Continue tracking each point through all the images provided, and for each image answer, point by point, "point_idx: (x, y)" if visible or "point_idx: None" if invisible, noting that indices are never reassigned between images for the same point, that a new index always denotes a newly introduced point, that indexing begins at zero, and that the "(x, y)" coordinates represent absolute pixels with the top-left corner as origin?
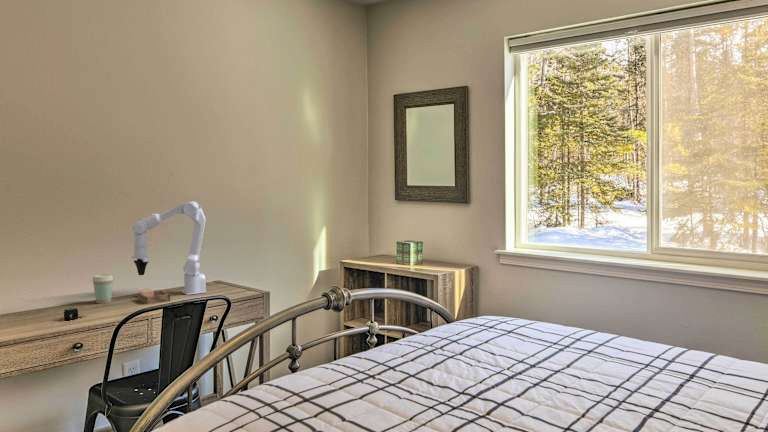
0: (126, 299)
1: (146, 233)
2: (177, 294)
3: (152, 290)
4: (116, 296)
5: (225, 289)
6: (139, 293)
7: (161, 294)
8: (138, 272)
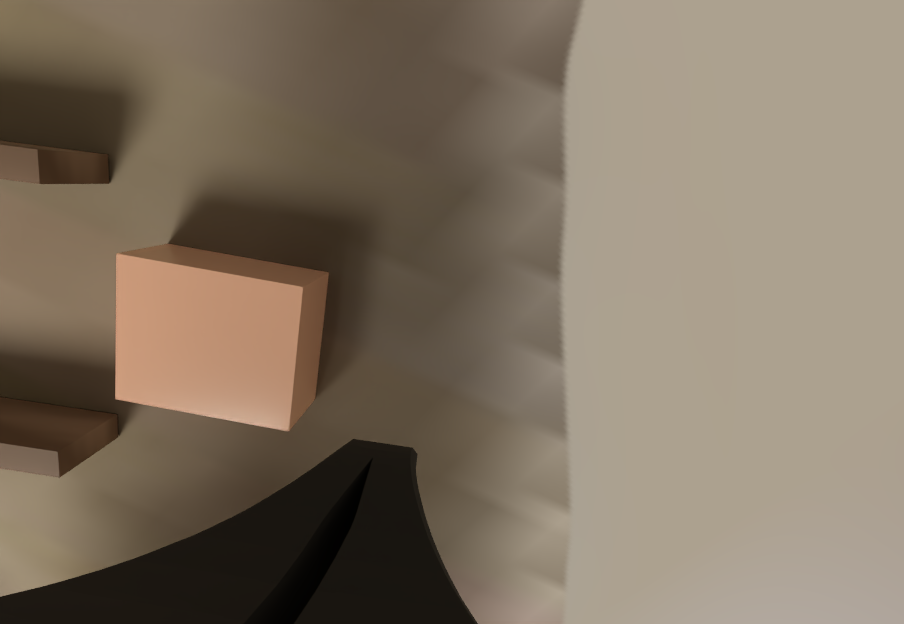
0: (222, 53)
1: None
2: None
3: (174, 408)
4: (511, 25)
5: None
6: (11, 167)
7: (30, 424)
8: (362, 463)
